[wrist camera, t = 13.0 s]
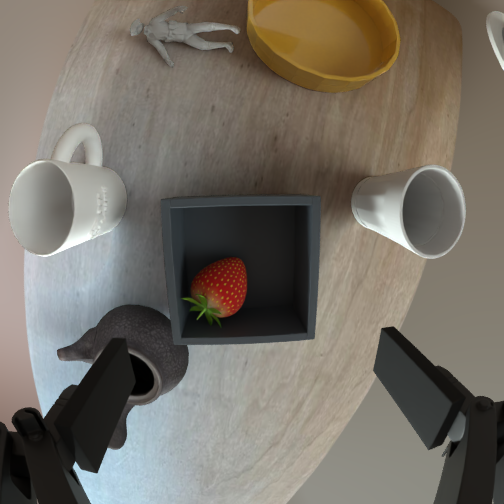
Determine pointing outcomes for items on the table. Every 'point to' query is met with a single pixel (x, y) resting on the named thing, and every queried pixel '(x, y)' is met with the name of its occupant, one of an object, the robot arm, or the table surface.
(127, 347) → the robot arm
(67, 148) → the mug
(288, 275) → the bin
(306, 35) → the bowl
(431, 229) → the cup
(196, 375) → the table surface
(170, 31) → the soldier figure
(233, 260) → the fruit
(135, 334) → the teapot
